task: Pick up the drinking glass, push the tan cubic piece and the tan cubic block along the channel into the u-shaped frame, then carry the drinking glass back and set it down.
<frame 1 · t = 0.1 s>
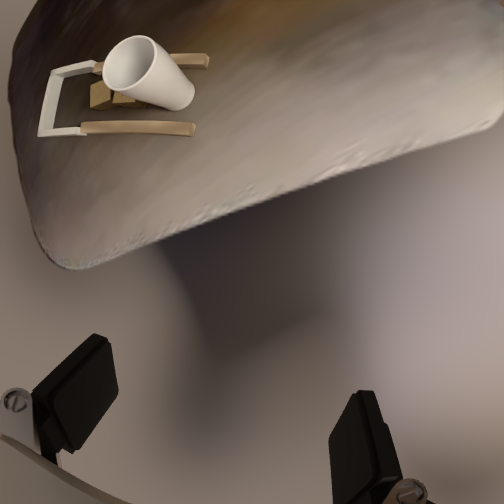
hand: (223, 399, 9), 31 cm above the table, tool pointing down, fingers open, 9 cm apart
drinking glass: (179, 95, 35), on the table
channel: (141, 95, 36), on the table
tan cubic piece: (138, 95, 36), on the table
u-shaped frame: (72, 101, 37), on the table
tan cubic block: (113, 97, 36), on the table
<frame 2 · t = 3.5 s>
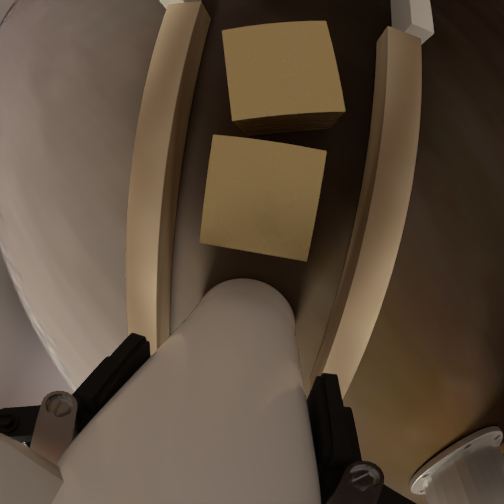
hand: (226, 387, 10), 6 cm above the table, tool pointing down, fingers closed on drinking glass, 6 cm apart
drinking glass: (247, 317, 15), on the table, touching gripper
channel: (266, 201, 14), on the table
tan cubic piece: (267, 191, 14), on the table
tan cubic block: (283, 94, 12), on the table
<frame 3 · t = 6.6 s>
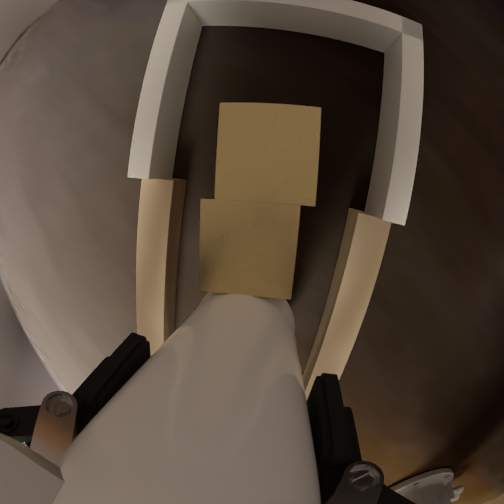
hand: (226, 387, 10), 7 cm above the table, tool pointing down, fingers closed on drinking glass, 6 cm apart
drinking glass: (247, 318, 15), point 1 cm above the table, touching tan cubic piece, gripper
channel: (240, 349, 18), on the table
tan cubic piece: (256, 231, 15), on the table, touching tan cubic block, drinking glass
u-shaped frame: (283, 93, 13), on the table
tan cubic block: (271, 158, 14), on the table, touching tan cubic piece
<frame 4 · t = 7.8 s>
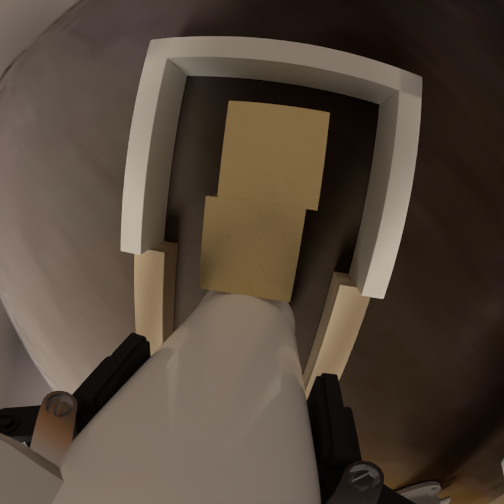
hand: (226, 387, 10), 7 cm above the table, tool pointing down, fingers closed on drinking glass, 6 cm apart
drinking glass: (247, 317, 15), point 1 cm above the table, touching tan cubic piece, gripper
channel: (233, 388, 18), on the table
tan cubic piece: (258, 231, 15), on the table, touching tan cubic block, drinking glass
u-shaped frame: (270, 157, 14), on the table
tan cubic block: (276, 159, 14), on the table, touching tan cubic piece
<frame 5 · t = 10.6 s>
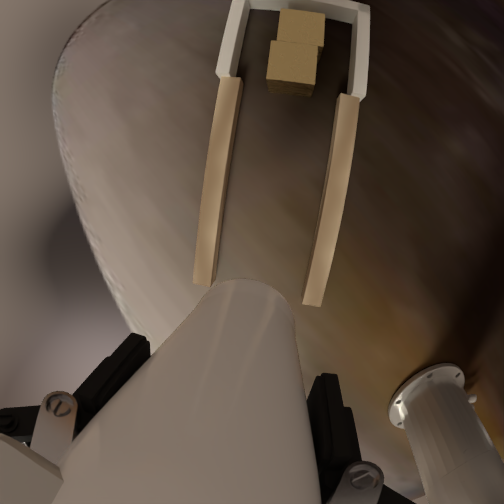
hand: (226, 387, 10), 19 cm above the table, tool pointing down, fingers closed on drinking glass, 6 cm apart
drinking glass: (246, 317, 15), point 13 cm above the table, touching gripper
channel: (274, 189, 26), on the table
tan cubic piece: (291, 76, 23), on the table
u-shaped frame: (297, 43, 22), on the table
tan cubic block: (299, 44, 22), on the table
when the fingers open (7 cm above the table, at t = 13.2 s): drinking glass stays where it is, on the table.
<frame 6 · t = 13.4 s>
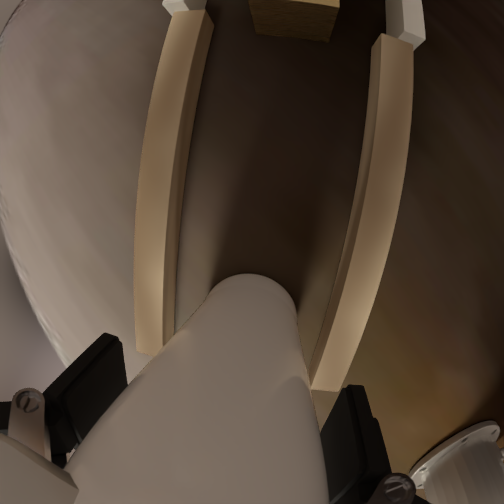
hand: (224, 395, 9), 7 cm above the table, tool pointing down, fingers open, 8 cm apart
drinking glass: (251, 311, 16), on the table
channel: (266, 199, 14), on the table
tan cubic piece: (294, 12, 11), on the table
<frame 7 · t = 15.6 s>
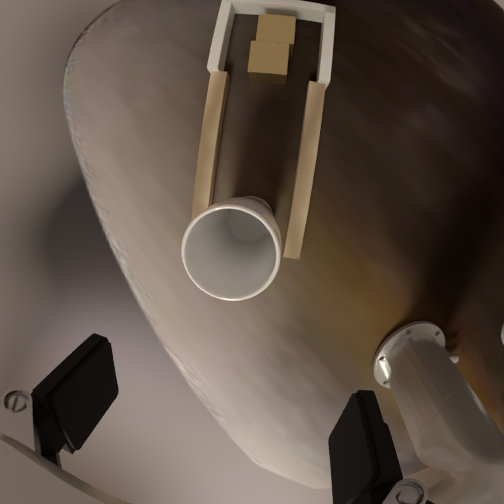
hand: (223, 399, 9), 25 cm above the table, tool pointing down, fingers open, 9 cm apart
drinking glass: (250, 217, 33), on the table
channel: (256, 161, 31), on the table
tan cubic piece: (269, 69, 27), on the table
u-shaped frame: (274, 42, 26), on the table
tan cubic block: (276, 42, 26), on the table
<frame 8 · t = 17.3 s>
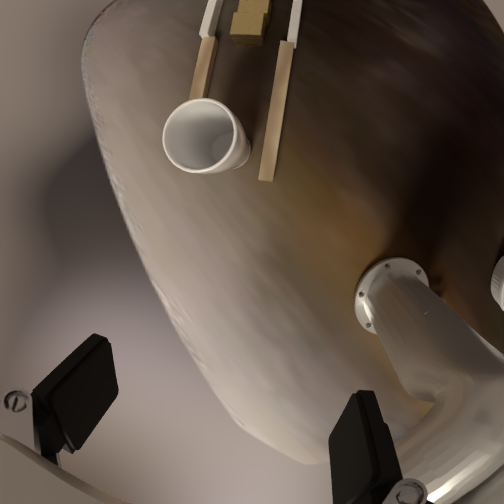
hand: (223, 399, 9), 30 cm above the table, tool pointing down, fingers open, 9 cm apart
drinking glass: (231, 150, 36), on the table
channel: (237, 104, 34), on the table
tan cubic piece: (250, 35, 31), on the table
u-shaped frame: (254, 15, 30), on the table
tan cubic block: (256, 16, 30), on the table
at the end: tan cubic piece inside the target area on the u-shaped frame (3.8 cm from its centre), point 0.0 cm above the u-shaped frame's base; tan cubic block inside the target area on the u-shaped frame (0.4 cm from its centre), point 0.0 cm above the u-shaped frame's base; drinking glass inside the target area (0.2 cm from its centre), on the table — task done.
